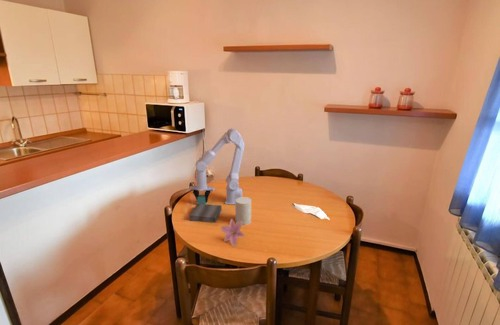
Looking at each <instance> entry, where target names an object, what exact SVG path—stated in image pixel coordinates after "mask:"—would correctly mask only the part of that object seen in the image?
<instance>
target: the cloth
mask: <svg viewBox="0 0 500 325" xmlns="http://www.w3.org/2000/svg"><path fill="white" fill-rule="evenodd" d="M291 205H294V207H293V208H294V209H297V210H298V211H300V212H302V213H305V214H311V215H313V216H315V217H317V218H319V219H321V220H323V219H324V220H325V219H327V220H329V221H330V217H328V216H327V214H326V213H325V211H324V210H322V209H321V208H320V207H317V206H314V205H313V206H312V205H305V204H298V203H295V202H292V203H291Z"/></svg>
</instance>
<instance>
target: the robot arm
mask: <svg viewBox="0 0 500 325" xmlns="http://www.w3.org/2000/svg"><path fill="white" fill-rule="evenodd" d="M242 136H243V135H242V134H240V132H239V131H238V130H237V129H236V128H233V127H231V128H229V129H227V131H226V132H224V133H223V135H222V136H221V137H220V139H219V140H218V141H217V142H216V143H215V144H214V146H213V147H212V148H211V149H207V150H205V151H204V152H203V153H204V154H203V155H202V156H201V157H199V159H197V160H196V162H195V169H196V170H195V171H196V173H195V178H196V185H190V186H189V187H188V190H189V191H192V194H193V195H194V197H195V200H196V201H197V197H198V196H199V195H200V192H204V195H205V202H206V203H207V204H208V201H209V197H210V193H211V192H212V193H214V192H215V187H212V186H208V184H207V183H208V181H207V171H206V170H207V166H209V164H210V163H211V162H212V161H214V159H215V158H216V154H217V153H218V151H220V150H221V149H222V147H224V146H225V145H226V144H231V143H233V144H234V145H235V149H234V153H233V158H232V162H231V163H232V164H231V167H230V171H229V173H228V175H227V177H226V179H225V182H226V183H227V186H226V187H225V188H226V189H225V190H226V191H225V192H226V195H225V196H226V198H225V199H226V200H225V202H224V204H225V205H236V199H237V198H239V197H243V188H241V187H239V186H240V183H239V179H240V177H239V176H240V175H239V174H240V169H241V164H242V160H243V157H244V156H243V155H244V152H245V151H244V150H245V146H246V145H245V144H246V143H245V142H244V140H243V137H242Z"/></svg>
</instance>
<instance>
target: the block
mask: <svg viewBox="0 0 500 325" xmlns="http://www.w3.org/2000/svg"><path fill="white" fill-rule="evenodd" d="M197 204H208V202H207V203H206V202H205V194H199V196H198V197H197V200H196V205H197Z"/></svg>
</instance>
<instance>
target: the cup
mask: <svg viewBox="0 0 500 325" xmlns="http://www.w3.org/2000/svg"><path fill="white" fill-rule="evenodd" d="M240 221H243V224H242V226H247V225H249V224H251V223H252V198H250V197H248V196H242V197H239V198H237V199H236V204H235V224H236V223H238V222H240Z"/></svg>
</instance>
